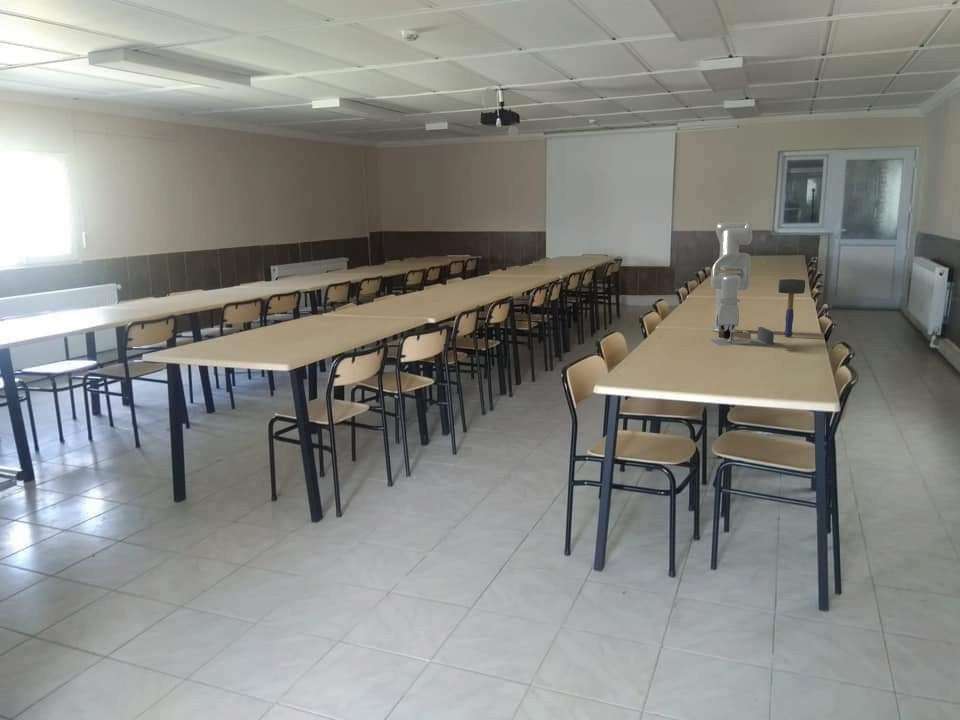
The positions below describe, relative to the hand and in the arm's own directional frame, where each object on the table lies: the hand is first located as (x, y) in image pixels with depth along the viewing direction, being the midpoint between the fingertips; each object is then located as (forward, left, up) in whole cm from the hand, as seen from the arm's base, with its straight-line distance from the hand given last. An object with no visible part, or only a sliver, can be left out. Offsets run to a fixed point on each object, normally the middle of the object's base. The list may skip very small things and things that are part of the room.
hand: (726, 338), depth 346 cm
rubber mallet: (-18, +38, -4) cm, 42 cm away
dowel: (-13, +2, -3) cm, 14 cm away
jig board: (0, +7, -3) cm, 8 cm away
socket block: (0, +6, -2) cm, 7 cm away
